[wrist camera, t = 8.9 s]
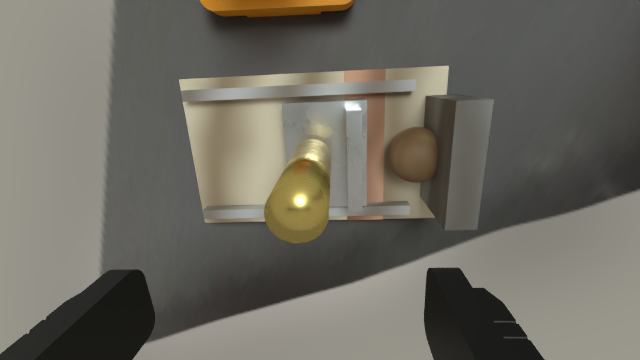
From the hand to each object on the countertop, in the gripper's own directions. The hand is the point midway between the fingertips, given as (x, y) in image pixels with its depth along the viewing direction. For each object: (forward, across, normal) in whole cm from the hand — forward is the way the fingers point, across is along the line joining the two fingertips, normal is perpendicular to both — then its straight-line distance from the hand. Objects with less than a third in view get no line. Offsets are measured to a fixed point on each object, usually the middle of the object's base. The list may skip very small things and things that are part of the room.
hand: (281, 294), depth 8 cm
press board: (+19, 0, 0) cm, 19 cm away
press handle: (+16, -1, 0) cm, 16 cm away
